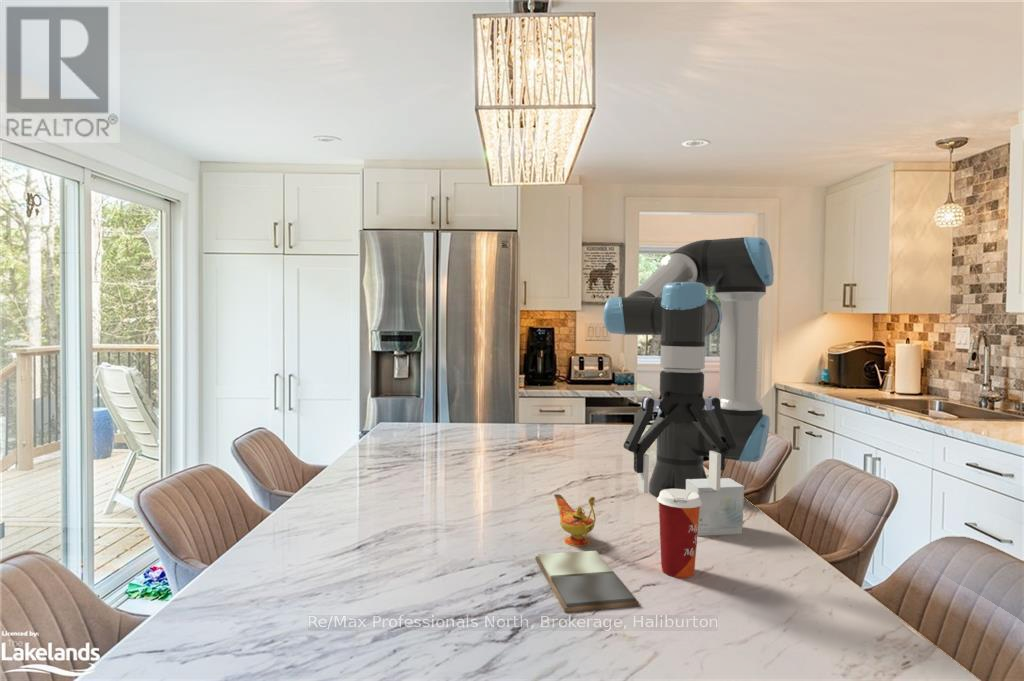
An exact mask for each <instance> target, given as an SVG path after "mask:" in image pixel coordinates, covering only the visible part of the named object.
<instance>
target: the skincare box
mask: <svg viewBox="0 0 1024 681" xmlns="http://www.w3.org/2000/svg"><path fill="white" fill-rule="evenodd" d="M686 490H689V491H693V492H695V493H697V494H698V495H699V496H700V500H701V502H702V505H701V506H700V511H699V523H698V535H697V537H700V536H701V537H702V536H703V537H704V536H726V535H730V536H731V535H742V534H743V524H744V523H743V522H744V520H743V518H744V503H745V502H744V496H745V486H744V485H743V484H741V483H739V482H737V481H735V480H733V479H732V478H729V477H721V478H720V490H718V491H716V490H714V489H712V488H711V487H709V478H707V479H686Z"/></svg>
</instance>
